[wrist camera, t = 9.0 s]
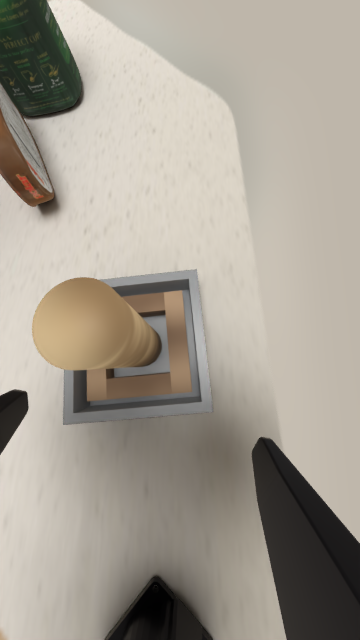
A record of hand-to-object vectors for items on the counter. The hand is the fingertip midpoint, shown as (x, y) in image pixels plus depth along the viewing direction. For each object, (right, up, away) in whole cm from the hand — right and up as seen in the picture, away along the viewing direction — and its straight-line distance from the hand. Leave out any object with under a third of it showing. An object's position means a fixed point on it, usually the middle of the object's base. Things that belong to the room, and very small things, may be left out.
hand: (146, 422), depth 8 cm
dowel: (-2, +1, +13) cm, 13 cm away
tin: (-16, +22, +18) cm, 33 cm away
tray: (-2, +1, +13) cm, 13 cm away
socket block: (-2, +1, +13) cm, 13 cm away
